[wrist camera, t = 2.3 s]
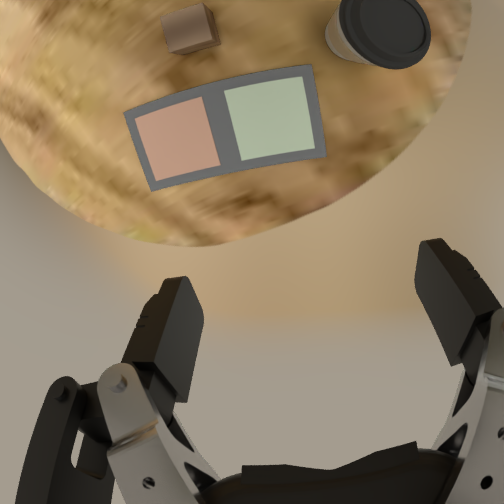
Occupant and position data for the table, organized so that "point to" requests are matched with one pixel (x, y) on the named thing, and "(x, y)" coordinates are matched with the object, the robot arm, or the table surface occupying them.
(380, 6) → the coffee cup
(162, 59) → the table surface
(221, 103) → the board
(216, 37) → the walnut block
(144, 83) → the table surface
